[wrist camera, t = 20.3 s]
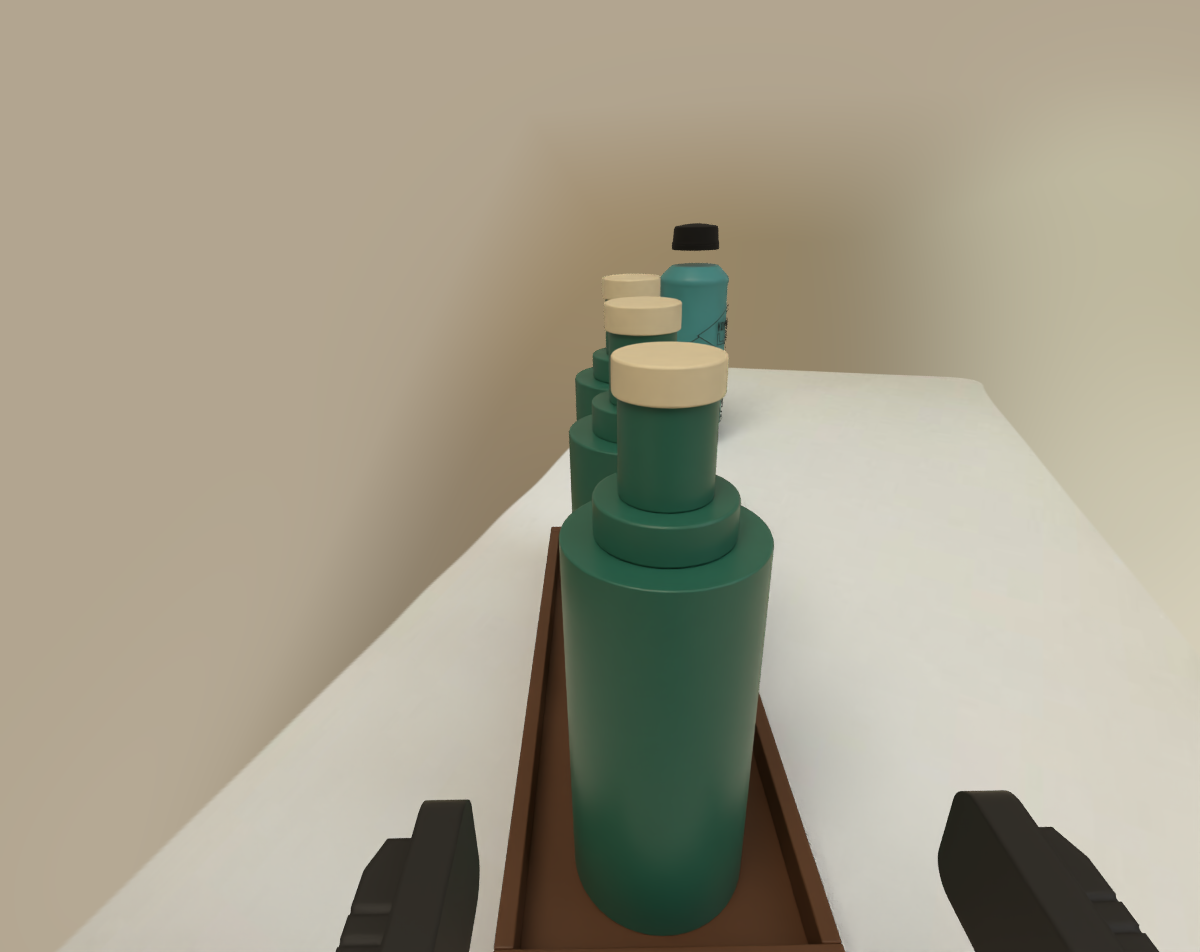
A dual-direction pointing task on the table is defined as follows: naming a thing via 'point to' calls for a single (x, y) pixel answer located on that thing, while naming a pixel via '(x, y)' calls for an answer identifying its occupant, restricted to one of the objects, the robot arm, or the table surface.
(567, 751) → the tray
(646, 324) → the row bottle middle
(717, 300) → the beverage bottle
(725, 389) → the green bottle
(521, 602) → the table surface
